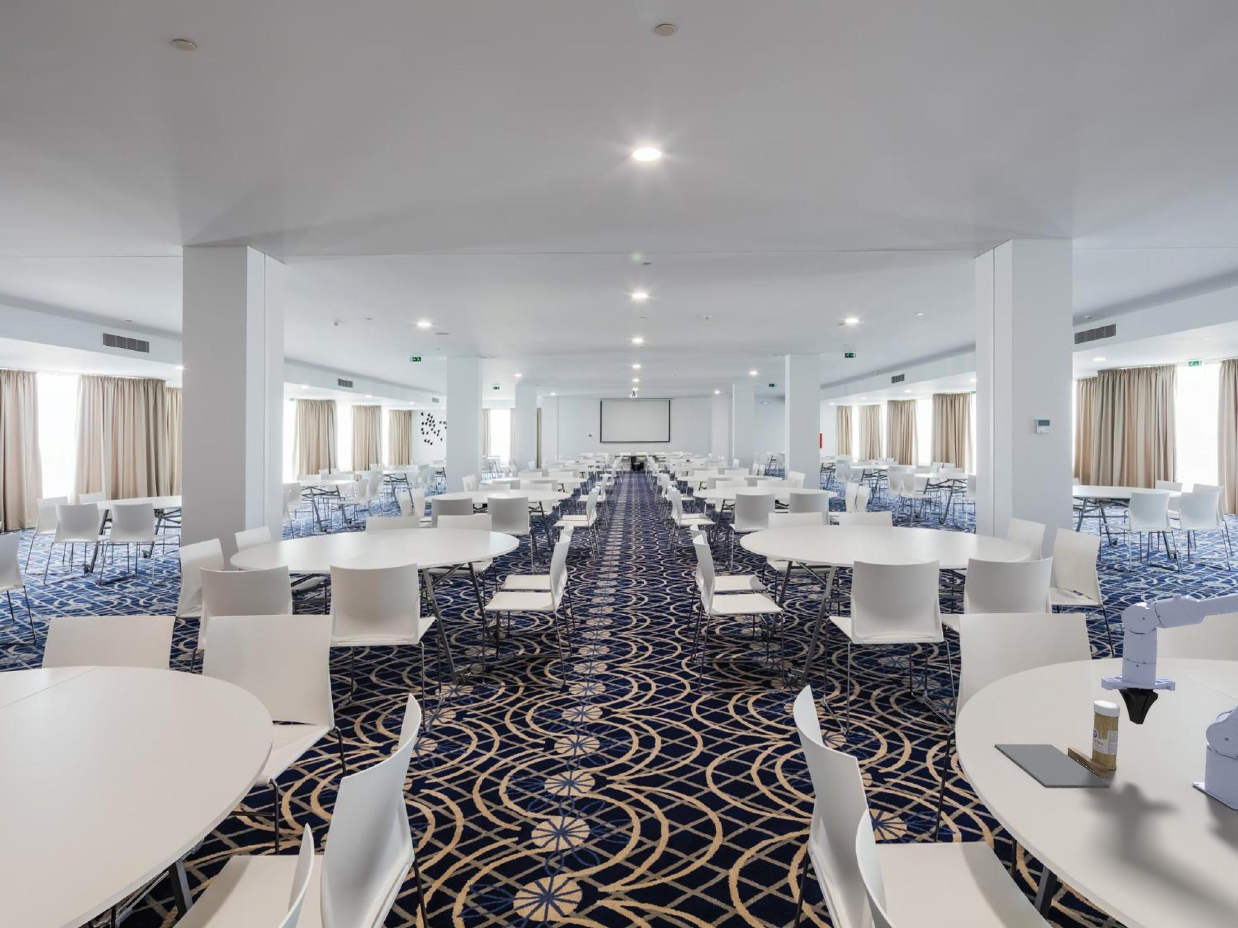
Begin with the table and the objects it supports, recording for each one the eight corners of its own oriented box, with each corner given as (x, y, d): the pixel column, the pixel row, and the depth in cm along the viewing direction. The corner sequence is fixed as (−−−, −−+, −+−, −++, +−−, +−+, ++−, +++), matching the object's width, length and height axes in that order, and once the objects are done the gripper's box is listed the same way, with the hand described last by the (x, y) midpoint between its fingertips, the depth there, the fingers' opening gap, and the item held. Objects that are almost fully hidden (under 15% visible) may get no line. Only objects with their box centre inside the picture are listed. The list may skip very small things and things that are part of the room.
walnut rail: (1107, 776, 141) (1107, 769, 141) (1100, 776, 141) (1100, 769, 141) (1074, 754, 151) (1074, 747, 151) (1067, 754, 151) (1068, 747, 151)
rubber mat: (1109, 786, 137) (1109, 784, 137) (1045, 786, 137) (1045, 784, 137) (1051, 746, 155) (1051, 744, 155) (994, 745, 155) (994, 743, 155)
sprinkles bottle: (1085, 760, 149) (1088, 699, 148) (1105, 759, 149) (1108, 699, 148) (1102, 771, 144) (1105, 708, 143) (1122, 770, 144) (1125, 707, 144)
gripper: (1157, 653, 150) (1154, 714, 150) (1092, 653, 149) (1089, 714, 150) (1185, 664, 143) (1181, 728, 143) (1116, 664, 142) (1113, 728, 143)
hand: (1136, 722), depth 146 cm, fingers closed
